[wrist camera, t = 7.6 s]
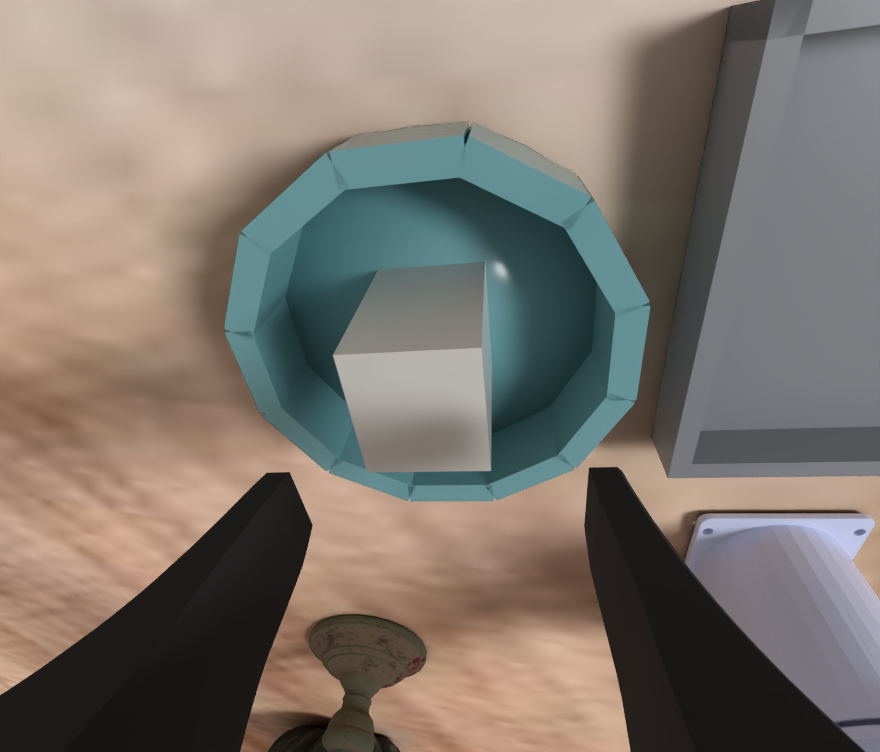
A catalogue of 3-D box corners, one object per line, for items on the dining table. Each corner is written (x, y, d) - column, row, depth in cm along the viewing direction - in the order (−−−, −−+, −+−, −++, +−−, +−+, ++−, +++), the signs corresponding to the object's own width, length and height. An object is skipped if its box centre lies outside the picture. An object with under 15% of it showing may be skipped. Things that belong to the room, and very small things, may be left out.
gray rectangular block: (491, 364, 19) (491, 470, 14) (398, 369, 20) (366, 472, 15) (485, 261, 17) (481, 347, 12) (378, 269, 17) (332, 355, 12)
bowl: (604, 440, 22) (621, 500, 19) (322, 446, 24) (298, 501, 21) (641, 97, 14) (680, 108, 11) (216, 150, 16) (154, 172, 13)
